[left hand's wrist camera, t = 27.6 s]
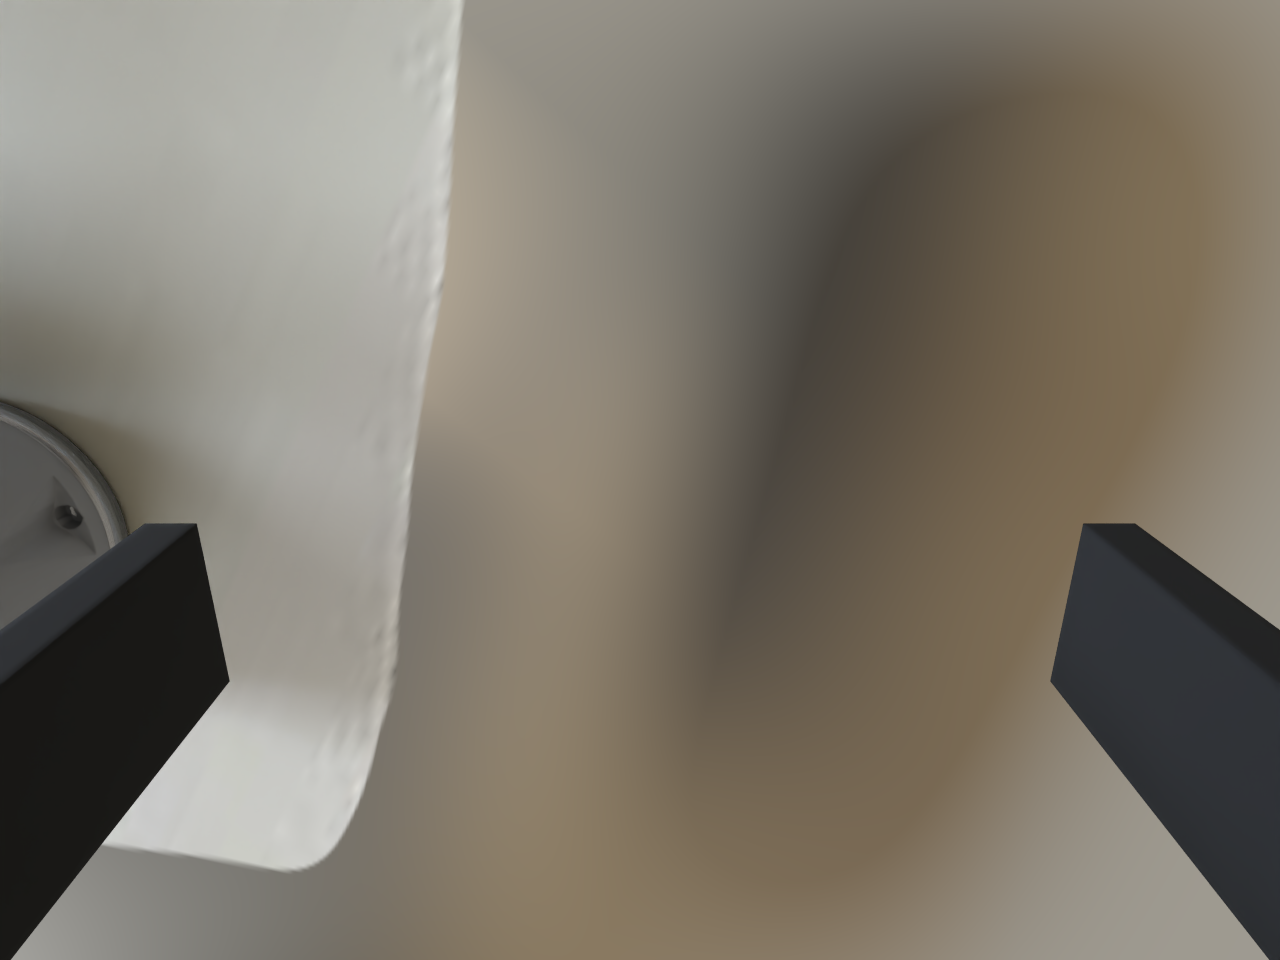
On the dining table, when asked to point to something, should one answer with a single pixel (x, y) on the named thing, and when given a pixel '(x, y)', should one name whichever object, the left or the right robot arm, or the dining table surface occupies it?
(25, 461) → the left robot arm
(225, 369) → the dining table surface
